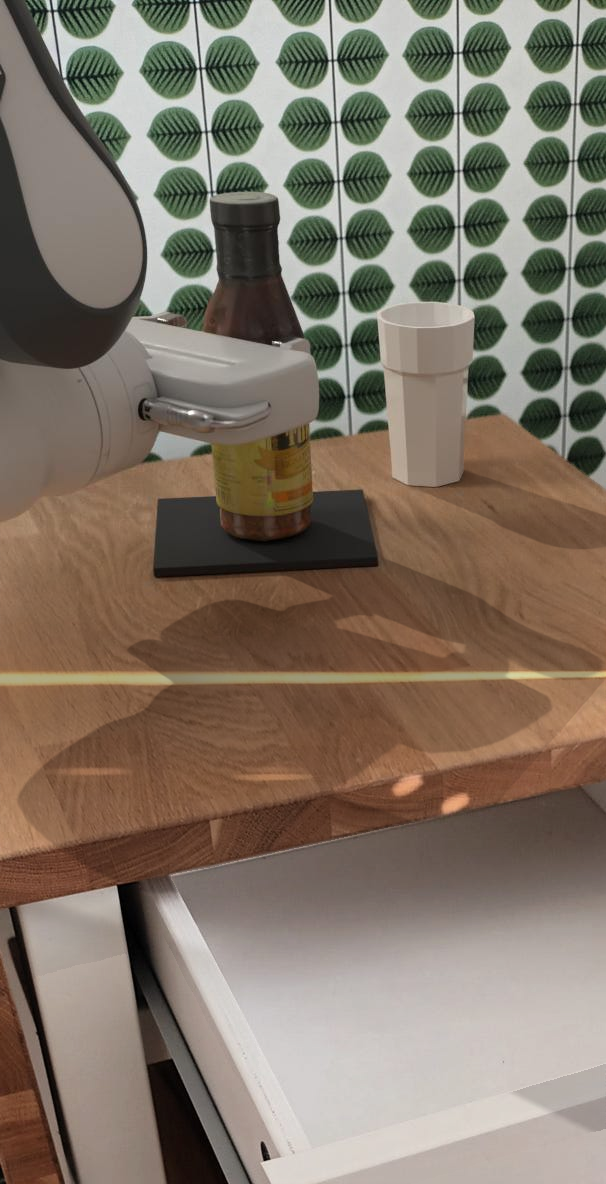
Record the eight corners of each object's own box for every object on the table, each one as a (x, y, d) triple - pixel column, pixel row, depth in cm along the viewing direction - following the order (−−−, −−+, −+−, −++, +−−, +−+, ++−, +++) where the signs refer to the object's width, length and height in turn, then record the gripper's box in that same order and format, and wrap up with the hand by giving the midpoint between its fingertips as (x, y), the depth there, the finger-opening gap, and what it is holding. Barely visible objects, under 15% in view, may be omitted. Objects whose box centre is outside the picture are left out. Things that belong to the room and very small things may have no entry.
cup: (374, 462, 114) (368, 304, 107) (462, 455, 115) (461, 299, 109) (391, 494, 109) (387, 330, 102) (483, 486, 110) (484, 324, 103)
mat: (154, 577, 97) (152, 568, 97) (158, 506, 106) (157, 498, 106) (378, 565, 99) (378, 556, 98) (363, 497, 108) (362, 489, 108)
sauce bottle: (295, 550, 99) (273, 212, 87) (204, 540, 100) (169, 205, 88) (329, 513, 104) (311, 189, 92) (241, 504, 105) (213, 183, 94)
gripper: (221, 370, 79) (377, 310, 88) (-63, 310, 87) (107, 261, 97) (232, 491, 83) (380, 421, 92) (-42, 422, 91) (120, 364, 101)
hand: (238, 338), depth 95 cm, fingers open, 8 cm apart
